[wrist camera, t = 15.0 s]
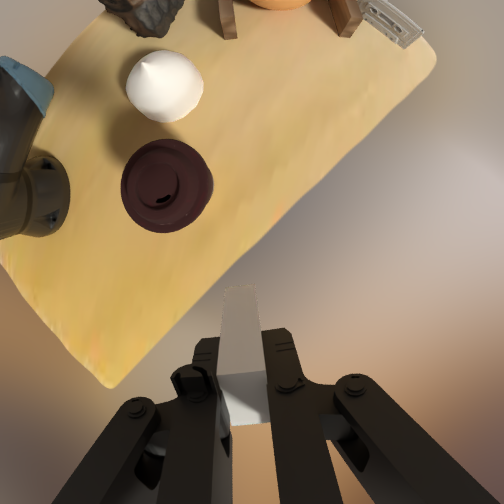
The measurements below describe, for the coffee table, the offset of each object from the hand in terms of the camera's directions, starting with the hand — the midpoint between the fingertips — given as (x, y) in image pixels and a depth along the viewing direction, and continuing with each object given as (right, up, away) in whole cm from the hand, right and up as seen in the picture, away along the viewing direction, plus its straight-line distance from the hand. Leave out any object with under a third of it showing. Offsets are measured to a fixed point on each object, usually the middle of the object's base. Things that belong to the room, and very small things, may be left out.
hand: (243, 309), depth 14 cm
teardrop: (-12, +28, +22) cm, 38 cm away
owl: (-16, +45, +18) cm, 52 cm away
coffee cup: (-9, +13, +26) cm, 30 cm away
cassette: (+23, +43, +18) cm, 52 cm away
